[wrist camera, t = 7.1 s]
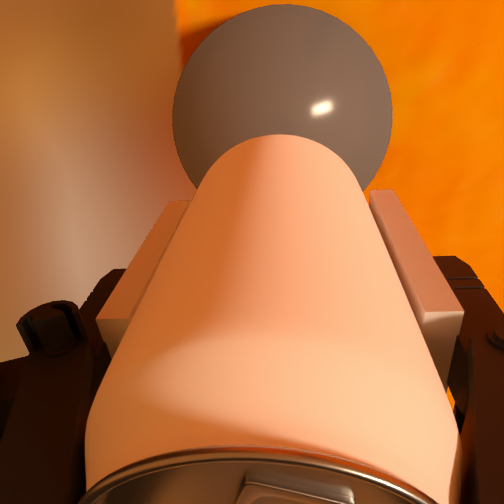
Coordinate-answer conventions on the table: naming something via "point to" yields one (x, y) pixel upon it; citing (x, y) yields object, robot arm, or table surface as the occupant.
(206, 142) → the stand
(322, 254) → the can
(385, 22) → the table surface
